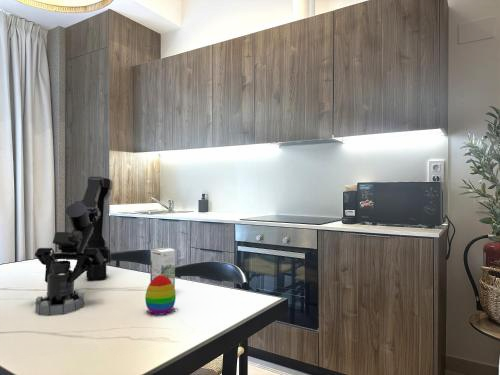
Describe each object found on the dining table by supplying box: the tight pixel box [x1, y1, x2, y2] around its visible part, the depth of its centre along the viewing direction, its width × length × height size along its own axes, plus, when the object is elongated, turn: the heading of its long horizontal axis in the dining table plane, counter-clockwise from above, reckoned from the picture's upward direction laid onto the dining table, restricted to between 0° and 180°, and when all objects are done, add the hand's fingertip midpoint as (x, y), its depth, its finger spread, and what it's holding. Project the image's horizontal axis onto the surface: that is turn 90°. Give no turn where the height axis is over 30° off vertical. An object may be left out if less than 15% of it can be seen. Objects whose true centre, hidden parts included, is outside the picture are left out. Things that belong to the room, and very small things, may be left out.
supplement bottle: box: [46, 260, 75, 305], centre depth 101 cm, size 7×7×12 cm
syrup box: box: [149, 247, 176, 290], centre depth 114 cm, size 6×6×14 cm
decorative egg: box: [144, 275, 177, 315], centre depth 98 cm, size 8×8×10 cm
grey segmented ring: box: [34, 289, 85, 317], centre depth 100 cm, size 12×12×4 cm
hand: (58, 281), depth 99 cm, fingers closed on supplement bottle, 7 cm apart
